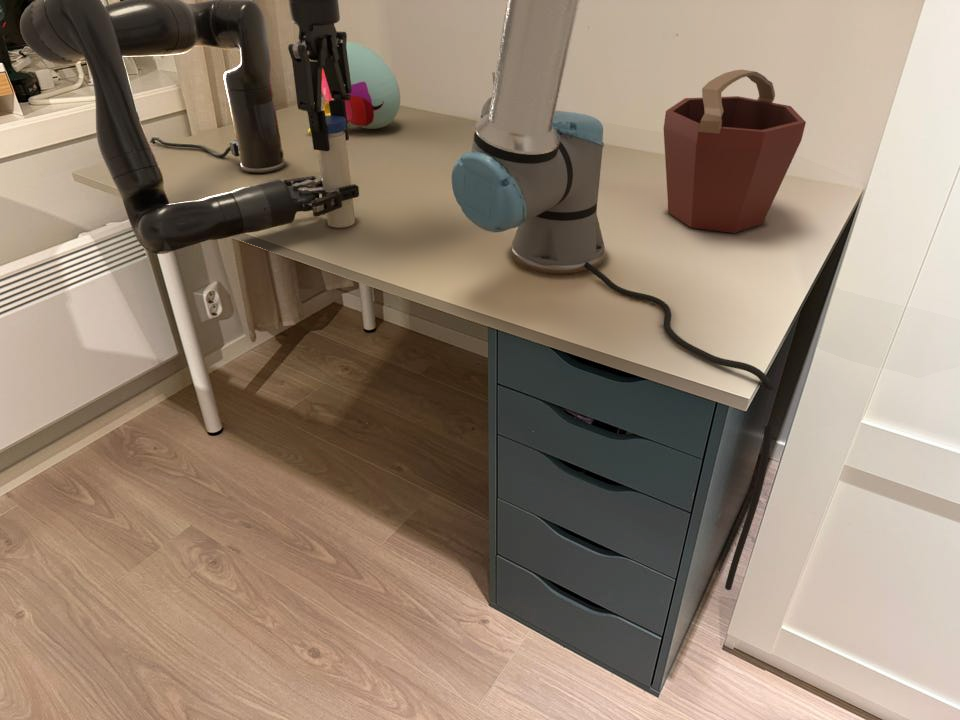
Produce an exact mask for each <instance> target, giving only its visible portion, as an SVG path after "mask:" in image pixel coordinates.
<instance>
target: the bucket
mask: <svg viewBox="0 0 960 720" xmlns="http://www.w3.org/2000/svg"><path fill="white" fill-rule="evenodd" d="M746 77H747V78H748V79H749V80H750V81H751V82H752V83H754V84H755V85H756V88H757V91H758V98H757V99H754V98H750V97H744V96H739V95H736V96H733V95H732V96H731V95H730V96H722V92H724V91H725V90H726V89H727V88H728V87H729V86H730V85H732V84H734V83H735V82H737V81H738V80H740V79H743V78H746ZM701 96H702V97H685V98H683V99H682V100H680V101H679V102H677V103H676V104H674V105H672V106H670V107H669V108H668V109H667V110H665V115H664V122H663V143H664V156H665V157H664V159H665V161H664V162H665V177H666V179H665V180H666V192H667V193H666V194H667V196H666V197H667V212H668V214H670V215H671V216H672V217H674V218H676V219H677V220H679V221H680V222H681V223H683V224H684V225H686V226H687V227H689V228H691V229H698V230H707V231H715V232H721V233H732V234H735V233H739V232H742V231H745V230H749V229H751V228H754V227H757V226H760V225H762V224H764V222H765V219H766V218H767V215H768V213H769V211H770V209H771V207H772V205H773V202H774V201H775V198H776V196H777V195H778V192H779V189H780V187H781V185H782V183H783V181H784V179H785V177H786V175H787V173H788V170H789V168H790V167H791V164H792V162H793V159H794V158H795V155H796V153H797V151H798V150H799V149H798V148H799V147H800V145H801V142H802V139H803V135H804V132H805V128H806V125H807V124H806V120H805V119H804V118H803V117H802V116H801V115H800V114H799V113H798V112H797V111H796V110H795V109H794V108H793V107H792V106H791V105H787V104H781V103H776V102H774V101H775V98H776V92H775V88H774V83H773V82H772V81H771V80H769V79H768V78H767V77H766V76H765V75H763V74H761V73H760V72H758V71H755V70H748V69H735V70H732V71H727V72H724V73H722V74H720V75H717V76H716V77H714V78H713V79H711V80H709V81H708V82H707V83H706V84H705V85H704V86H703V87H702V88H701Z"/></svg>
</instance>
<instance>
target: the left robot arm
mask: <svg viewBox="0 0 960 720" xmlns="http://www.w3.org/2000/svg"><path fill="white" fill-rule="evenodd" d="M264 15H265V14H264V13H263V10H262V8H261V7H260V6H259V4H258V3H257V2H255V1H253V0H207V1H201V2H193V3H187V2H185V1H183V0H120V1H116V2H112V3H109V4H107V5H106V4H104V3H103V1H102V0H33V1H32V2H31V3H30V4H29V5H28V6H27V7H26V8H25V9H24V11H23V12H22V14H21V16H20V20H19V29H20V34H21V36H22V39H23V40H24V42H25V44H26V46H28V47H29V48H30V50H31V51H32V52H33V53H34V54H36V55H37V56H38V57H40V58H42V59H43V60H45V61H47V62H49V63H52V64H54V65H59V66H74V65H78V64H82V63H86V64H87V66H88V69H89V72H90V76H91V79H92V84H93V90H94V97H95V98H94V99H95V101H94V102H95V133H96V140H97V144H98V148H99V152H100V154H101V156H102V159H103V161H104V163H105V166H106V168H107V170H108V172H109V175H110V177H111V179H112V181H113V183H114V185H115V187H116V189H117V190H118V193H119V195H120V197H121V200H122V203H123V207H124V209H125V212H126V215H127V218H128V221H129V224H130V226H131V229H132V231H133V234H134V236H135V238H136V240H137V242H138V243H139V244H140V246H141V247H142V248H143V249H144V250H146V251H148V252H150V253H152V254H156V255H166V254H169V253H171V252H174V251H177V250H180V249H185V248H187V247H190V246H194V245H198V244H201V243H205V242H207V241H215V240H216V241H217V240H222V239H227V238H230V237H235V236H240V235H242V234H249V233H256V232H260V231H264V230H268V229H272V228H276V227H277V228H278V227H280V226H283V225H287V224H291V223H293V222H294V220H295V218H296V215H297V213H300V212H306V213H307V212H312V215H313V217H320V216H322V215H325V214H326V213H328V212H331V211H333V210H336V209H339V208H341V207H342V201H344V200H348V199H352V198H353V199H355V198H358V197H360V188H359V186H358V185H357V184H355V183H354V184H353V183H352V184H351V185H349V186H345V187H340V188H338V189H337V188H335V189H325V188H324V187H323V185H322V178H321V177H317V176H315V175H311V176H304V177H297V178H296V177H295V178H290V179H283V180H282V179H274V180H269V181H266V182H261V183H257V184H253V185H247V186H243V187H240V188H237V189H234V190H231V191H228V192H223V193H219V194H215V195H209V196H206V197H204V198H201V199H197V200H189V201H182V202H175V203H170V200H169V199H168V196H167V194H166V191H165V187H164V186H165V185H164V184H165V182H164V177H163V173H162V170H161V168H160V166H159V164H158V161H157V159H156V156H155V154H154V152H153V150H152V147H151V145H150V143H154V142H155V141H157V142H158V143H160V144H161V145H163V146H167V147H173V148H191V149H200V150H203V151H206V152H207V153H208V154H210V155H212V156H213V157H215V158H219V159H221V158H225V157H226V156H227V155H228V154H230V153H231V155H232V156H234V157H235V158H238V157H239V161H240V168H241V170H242V171H244V172H245V173H251V174H266V173H271V172H276V171H279V170H282V168H284V167H285V166H286V161H285V153H284V150H283V145H282V139H281V134H280V133H281V131H280V128H279V122H278V121H279V120H278V115H277V109H276V104H275V103H276V102H275V98H274V92H273V86H272V79H271V70H272V62H271V54H270V47H269V38H268V37H269V36H268V28H267V22H266V19H265V16H264ZM195 47H206V48H213V49H220V50H226V51H237V52H240V63H239V64H238V65H237V66H235V67H232V68H230V69H227V70H226V71H225V72H224V73H223V81H224V86H225V90H226V91H225V92H226V96H227V100H228V104H229V110H230V115H231V121H232V125H233V131H234V135H235V140H229V141H228V142H229V146H228V147H226V149H225V150H224V151H223V152H221V153H216V152H215V151H213V150H212V149H210V148H209V147H207V146H205V145H201V144H194V143H178V142H169V141H165V140H163V139H161V138H160V137H158V136H156V135H155V136H153V137H152V138H150V141H149V140H148V138H147V136H146V133H145V130H144V127H143V124H142V122H141V119H140V117H139V113H138V110H137V107H136V103H135V99H134V96H133V95H134V94H133V91H132V86H131V83H130V79H129V74H128V71H127V68H126V64H125V60H124V57H125V58H126V57H128V58H129V57H157V56H158V57H161V56H175V55H182V54H185V53H189V51H191V50H193V49H194V48H195ZM149 142H150V143H149ZM327 194H330V195H327ZM320 195H321V197H320ZM326 195H327V196H326ZM332 199H334V200H332Z"/></svg>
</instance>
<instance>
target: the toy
mask: <svg viewBox="0 0 960 720" xmlns="http://www.w3.org/2000/svg"><path fill="white" fill-rule="evenodd" d="M346 49H347V56H348V64H349V72H350V79H351V87H352V92H351V94H347V95H351V99H350V100H349V101H348V100H345V105H346V114H347V116H346V117H347V124H351V125H353V126H356V127H358V128H361V129H366V130H378V129H382V128H384V127H386V126H388V125H390V124H391V123H392V122H393V121H394V120H395V118H396V117H397V115H398V113H399V111H400V107H401V91H400V86H399V84H398V80H397V78H396V76H395V74H394V72H393V71H392V69H391V67H390V66H389V65H388V64H387V62H386V61H385V60H384V59H383V58H382V57H381V56H380V55H379V54H378V53H376V52H375V51H374V50H372V49H370V48H369V47H367V46H365V45H362V44H360V43H357V42H353V41H352V42H351V41H347V43H346ZM344 86H345V84H344ZM322 95H323V97H324V99H325V102H324V108H323V109H322V111H325V116H327V115H331V114H330V106H329V101H330V100H334V99H332V97H331V94H330V90H329V87H328V84H327V80H326V77H325V73H324V70H323V68H322ZM307 132H308V134H311V130H310V127H309V128H308V129H307Z"/></svg>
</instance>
